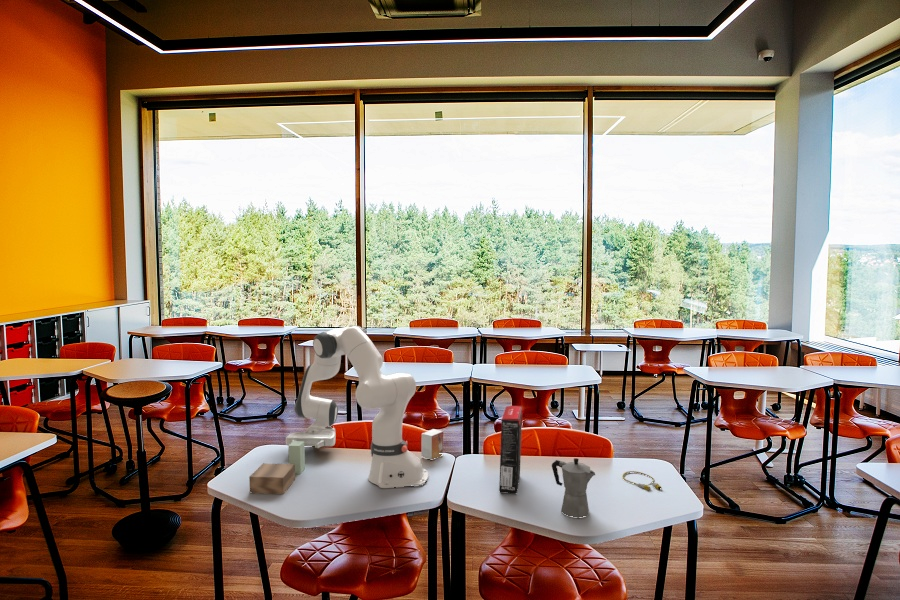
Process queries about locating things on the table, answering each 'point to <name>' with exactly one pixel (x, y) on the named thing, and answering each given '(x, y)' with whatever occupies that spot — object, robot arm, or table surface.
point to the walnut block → (272, 478)
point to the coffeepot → (574, 486)
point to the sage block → (297, 456)
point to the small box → (432, 444)
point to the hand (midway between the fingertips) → (305, 446)
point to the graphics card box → (510, 449)
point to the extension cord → (644, 484)
